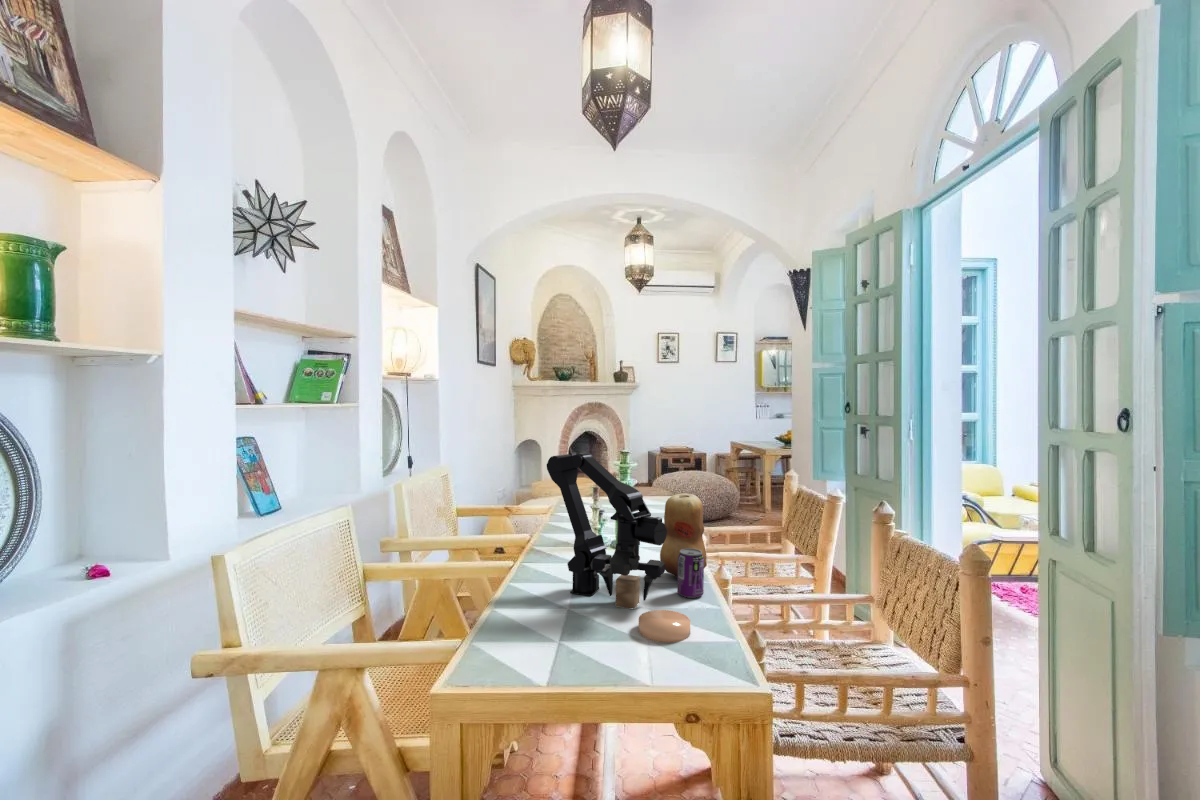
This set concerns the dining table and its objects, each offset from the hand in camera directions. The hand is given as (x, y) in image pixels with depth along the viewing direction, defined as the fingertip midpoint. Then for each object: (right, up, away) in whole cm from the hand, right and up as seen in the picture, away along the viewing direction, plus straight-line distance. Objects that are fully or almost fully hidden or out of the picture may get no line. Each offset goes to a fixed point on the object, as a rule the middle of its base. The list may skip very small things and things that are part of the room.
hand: (627, 597), depth 151 cm
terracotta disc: (+8, -2, -17) cm, 18 cm away
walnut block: (0, -2, 0) cm, 2 cm away
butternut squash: (+18, -2, +22) cm, 29 cm away
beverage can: (+18, -2, +7) cm, 19 cm away
